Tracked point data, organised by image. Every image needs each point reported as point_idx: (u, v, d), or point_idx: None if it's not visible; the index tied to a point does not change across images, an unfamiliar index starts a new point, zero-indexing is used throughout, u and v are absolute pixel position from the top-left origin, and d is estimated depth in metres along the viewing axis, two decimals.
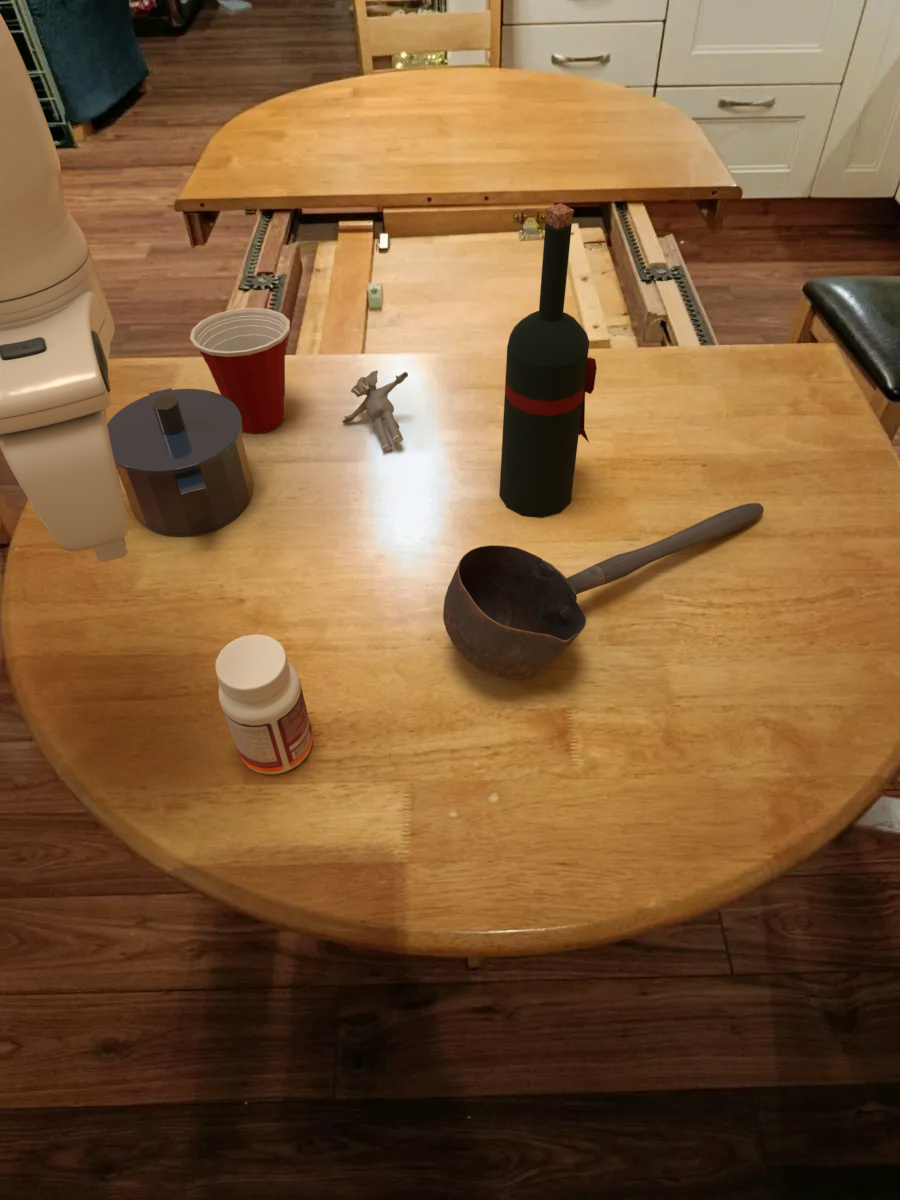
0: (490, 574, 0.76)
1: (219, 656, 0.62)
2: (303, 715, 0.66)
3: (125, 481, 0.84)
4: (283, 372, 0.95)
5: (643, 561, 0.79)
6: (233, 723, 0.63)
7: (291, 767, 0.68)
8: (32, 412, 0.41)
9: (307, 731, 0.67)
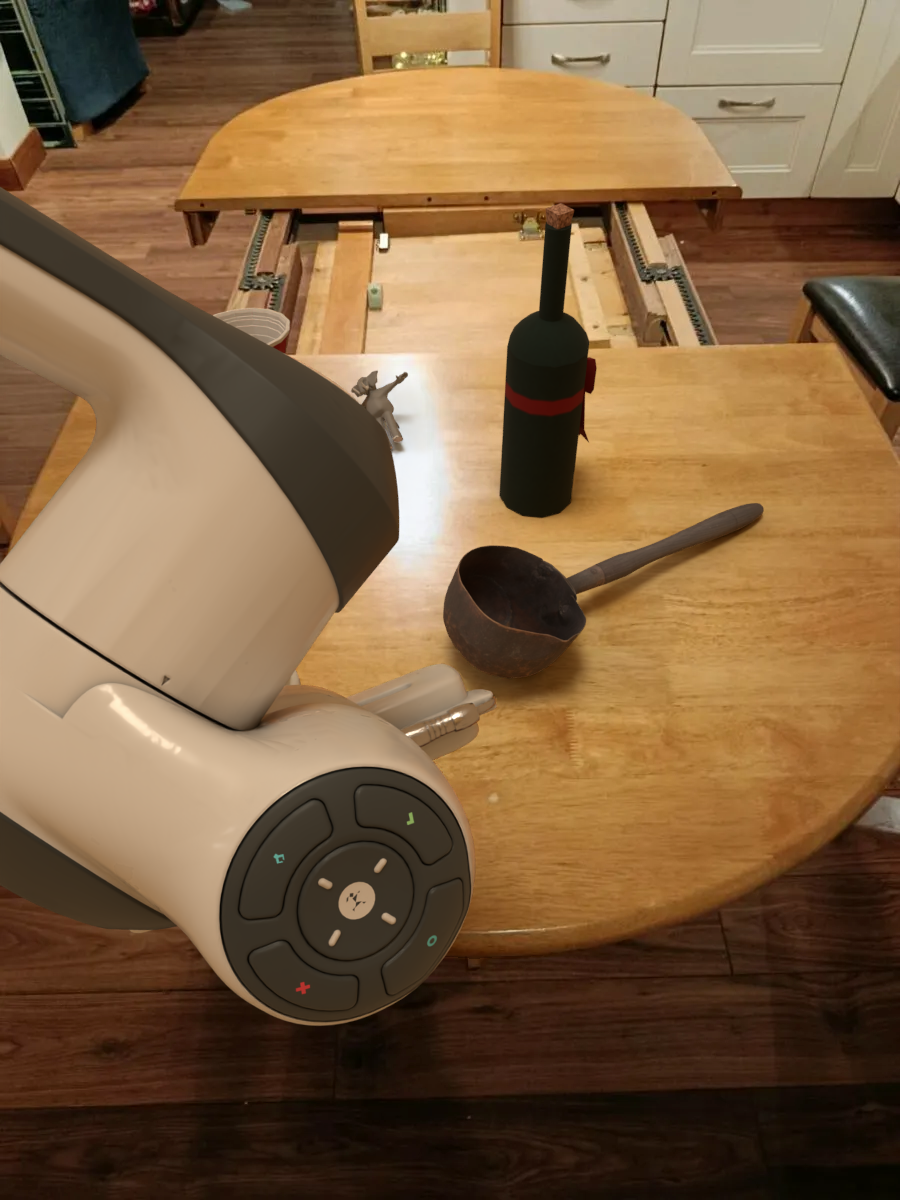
0: (490, 574, 0.76)
1: None
2: None
3: None
4: None
5: (643, 561, 0.79)
6: None
7: None
8: None
9: None
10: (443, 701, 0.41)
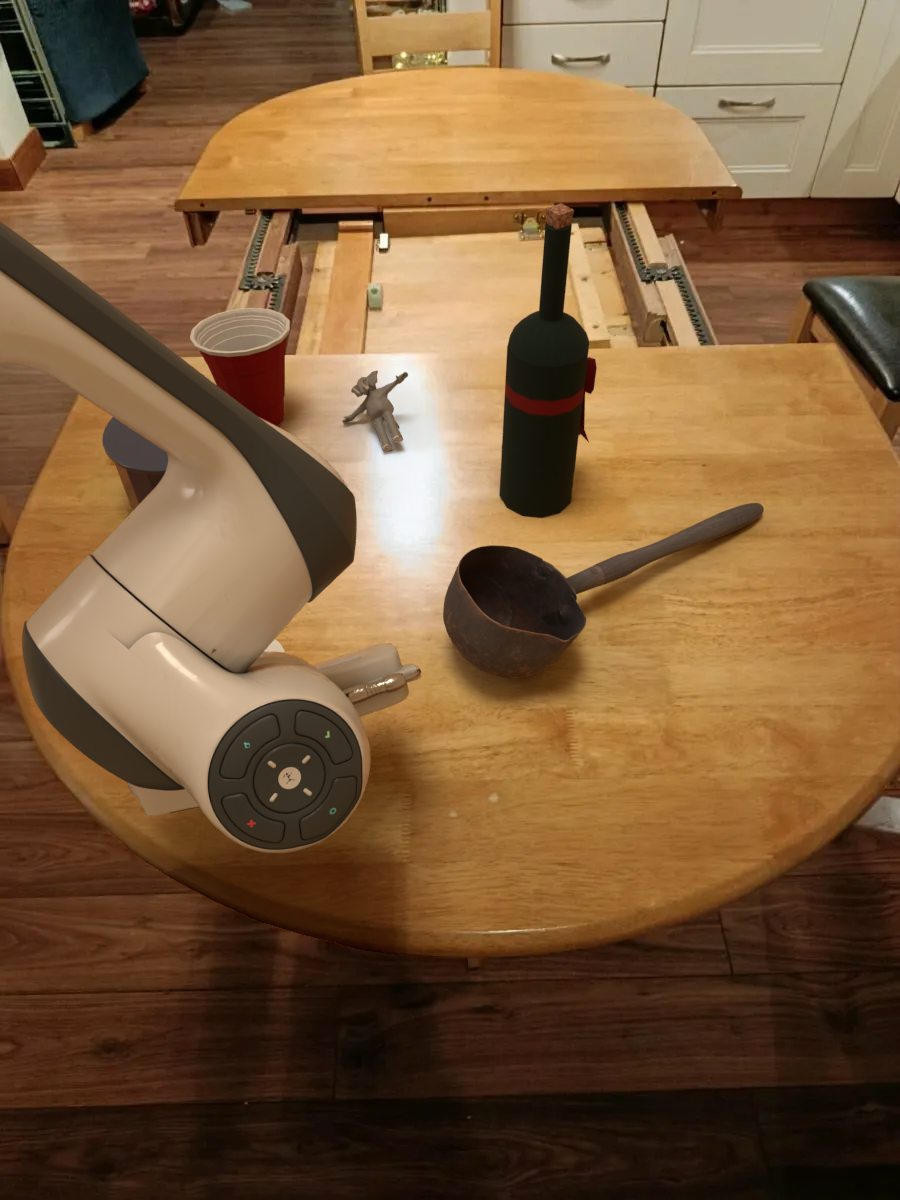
0: (490, 574, 0.76)
1: None
2: None
3: (125, 481, 0.84)
4: (283, 372, 0.95)
5: (643, 561, 0.79)
6: None
7: None
8: None
9: None
10: (381, 670, 0.56)
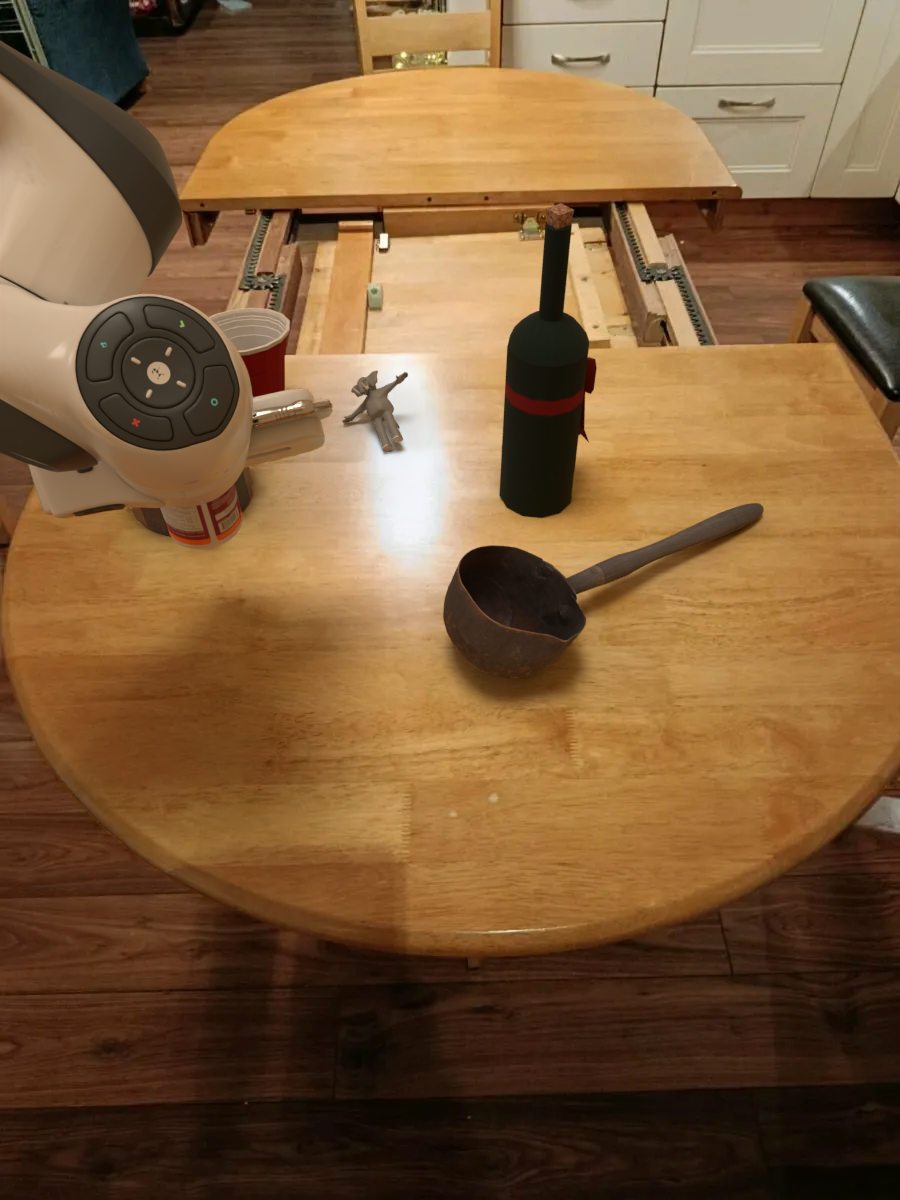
0: (490, 574, 0.76)
1: None
2: None
3: None
4: (283, 372, 0.95)
5: (643, 561, 0.79)
6: None
7: (219, 542, 0.69)
8: None
9: (234, 506, 0.69)
10: (292, 401, 0.57)
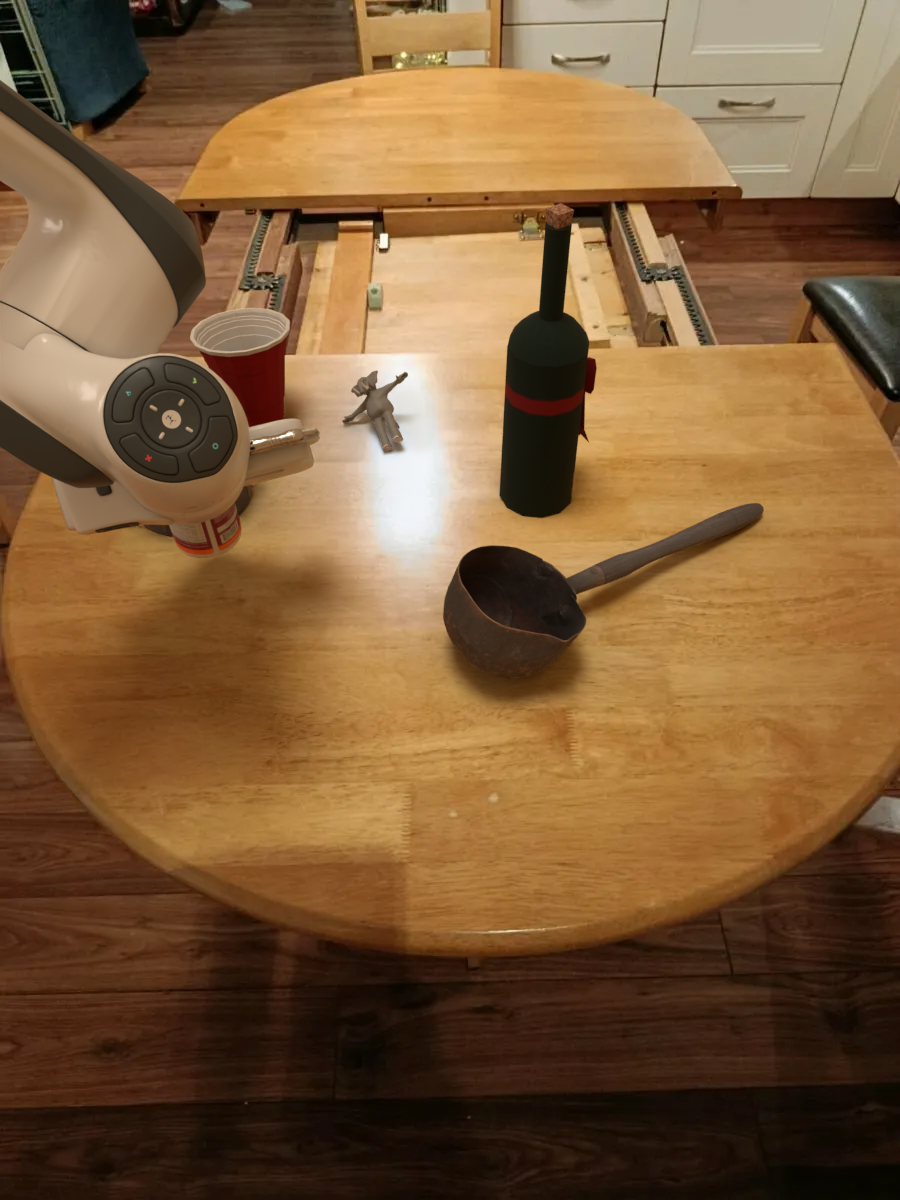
0: (490, 574, 0.76)
1: None
2: None
3: None
4: (283, 372, 0.95)
5: (643, 561, 0.79)
6: None
7: (221, 552, 0.77)
8: (60, 488, 0.60)
9: (234, 519, 0.77)
10: (284, 430, 0.65)
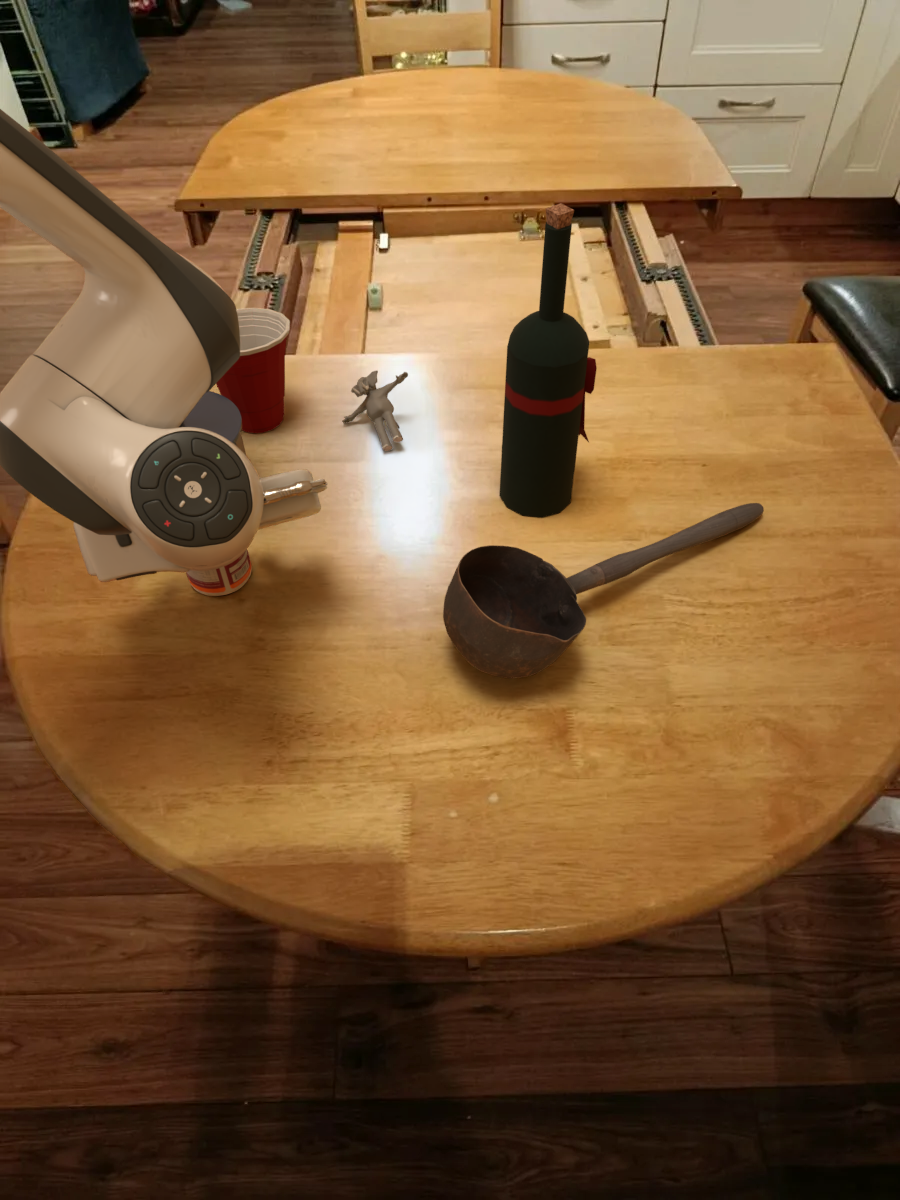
0: (490, 574, 0.76)
1: None
2: None
3: None
4: (283, 372, 0.95)
5: (643, 561, 0.79)
6: None
7: (232, 590, 0.81)
8: (82, 539, 0.64)
9: (245, 559, 0.81)
10: (294, 481, 0.69)
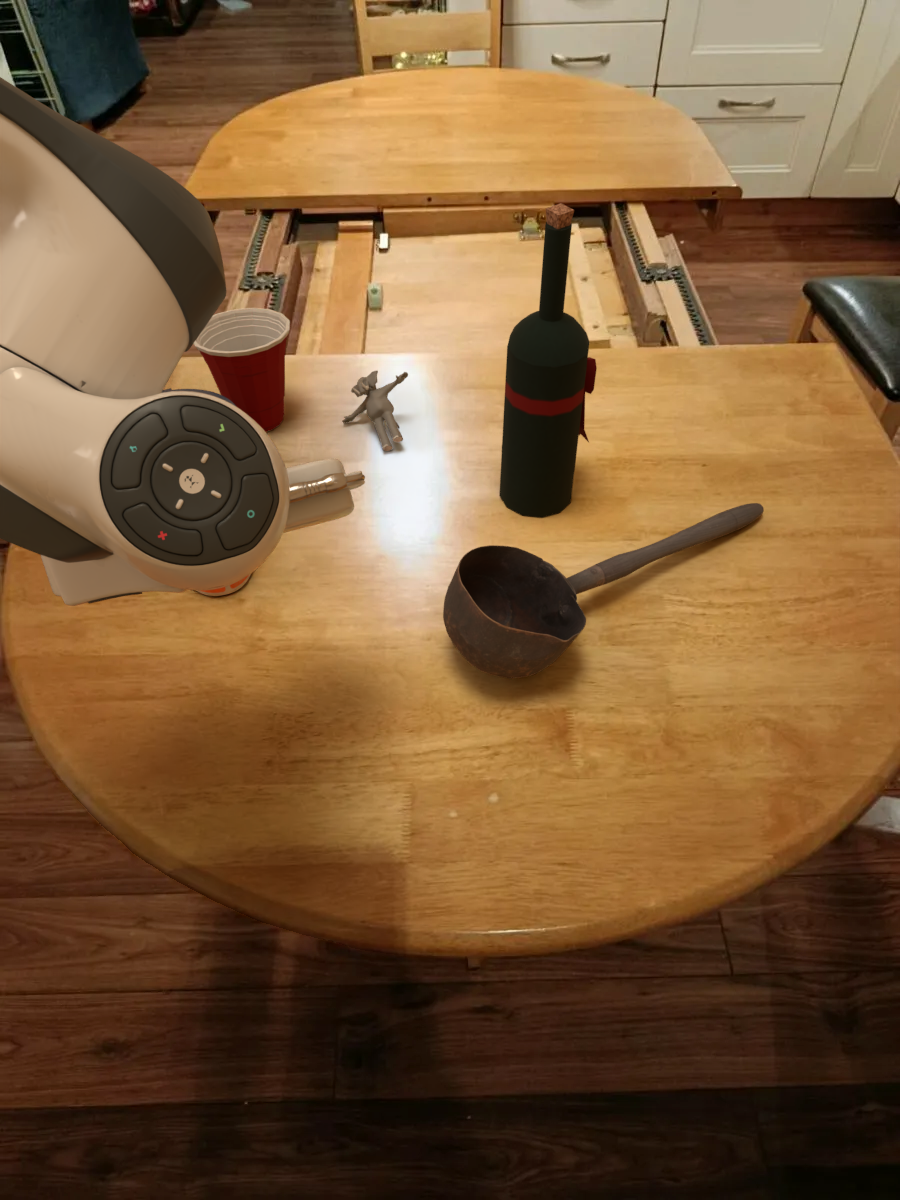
0: (490, 574, 0.76)
1: None
2: None
3: None
4: (283, 372, 0.95)
5: (643, 561, 0.79)
6: None
7: (232, 590, 0.81)
8: None
9: None
10: (322, 473, 0.53)
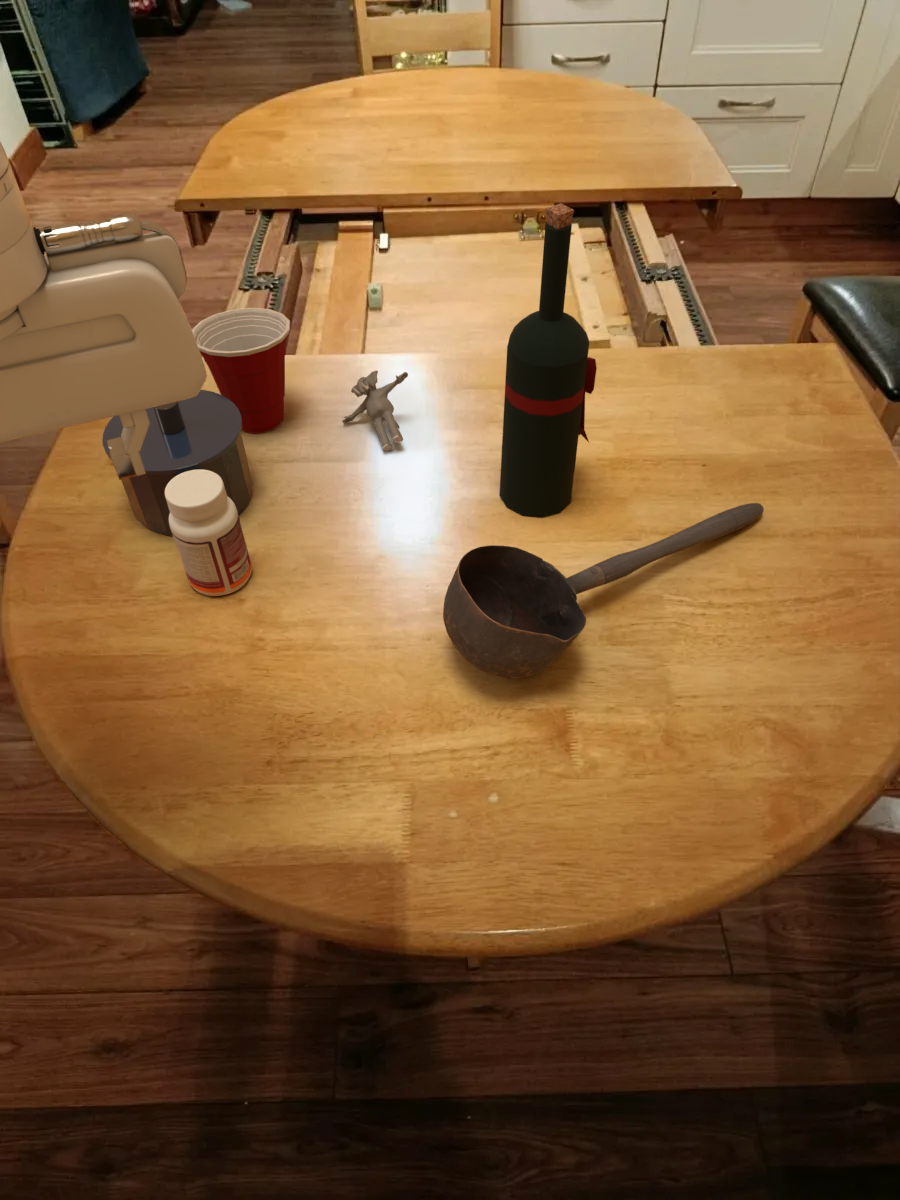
0: (490, 574, 0.76)
1: (168, 484, 0.75)
2: (241, 542, 0.79)
3: (125, 481, 0.84)
4: (283, 372, 0.95)
5: (643, 561, 0.79)
6: (181, 543, 0.76)
7: (232, 590, 0.81)
8: None
9: (245, 559, 0.81)
10: None
